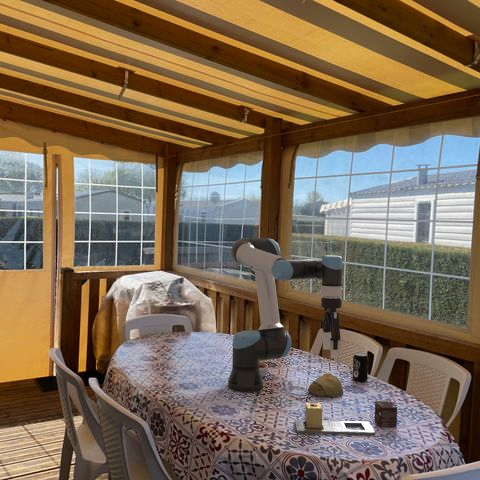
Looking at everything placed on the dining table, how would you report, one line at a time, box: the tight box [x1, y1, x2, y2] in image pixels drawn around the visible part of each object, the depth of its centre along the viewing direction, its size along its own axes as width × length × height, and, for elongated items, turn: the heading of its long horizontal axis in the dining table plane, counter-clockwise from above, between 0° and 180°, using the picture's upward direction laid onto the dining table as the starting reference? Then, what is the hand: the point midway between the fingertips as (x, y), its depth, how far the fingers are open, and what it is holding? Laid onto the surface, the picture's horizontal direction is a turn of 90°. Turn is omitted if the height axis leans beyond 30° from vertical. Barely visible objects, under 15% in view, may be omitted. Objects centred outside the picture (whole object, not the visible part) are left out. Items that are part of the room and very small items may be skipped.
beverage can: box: [352, 351, 369, 383], centre depth 227 cm, size 7×7×12 cm
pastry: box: [308, 372, 344, 398], centre depth 208 cm, size 14×12×8 cm
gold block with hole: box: [304, 402, 323, 430], centre depth 171 cm, size 5×5×8 cm
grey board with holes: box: [294, 419, 376, 436], centre depth 171 cm, size 26×9×1 cm, turn 90°
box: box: [373, 400, 398, 429], centre depth 176 cm, size 6×6×7 cm
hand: (330, 353), depth 187 cm, fingers open, 13 cm apart
